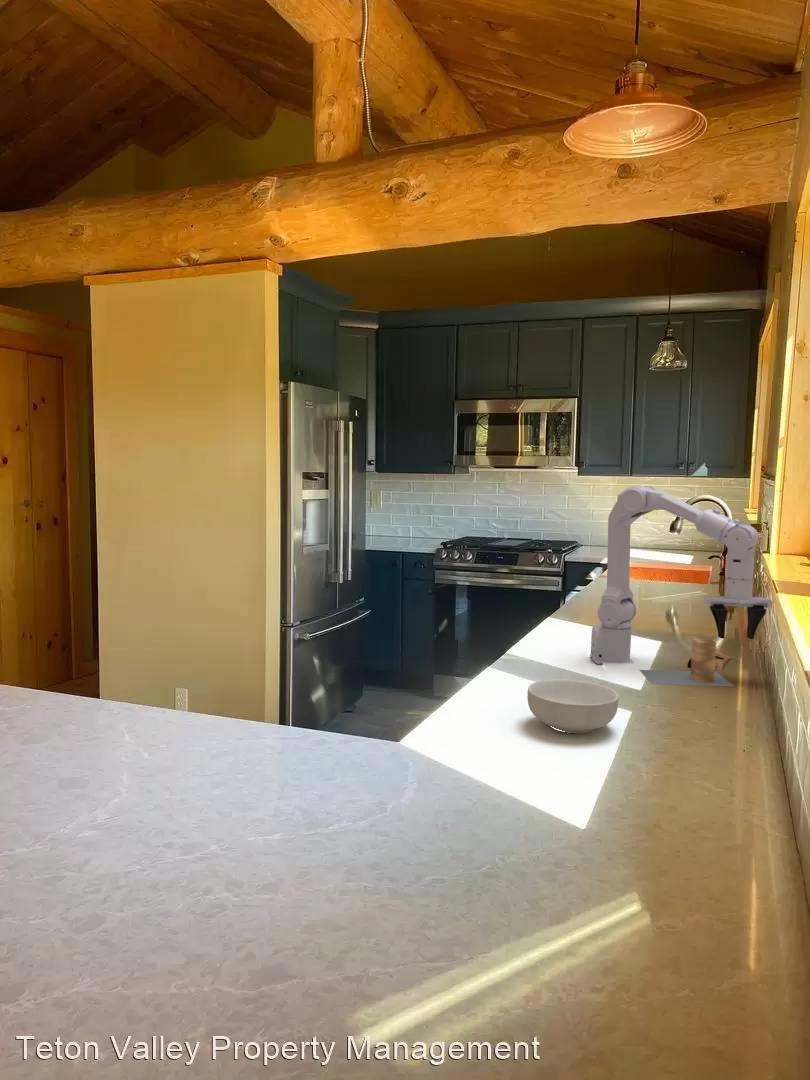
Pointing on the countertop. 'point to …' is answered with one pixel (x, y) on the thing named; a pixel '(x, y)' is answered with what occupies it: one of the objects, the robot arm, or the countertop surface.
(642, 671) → the slate mat
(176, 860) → the countertop surface
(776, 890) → the countertop surface
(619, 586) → the robot arm
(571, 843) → the countertop surface
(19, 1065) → the countertop surface
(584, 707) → the cereal bowl
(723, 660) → the sunglasses case
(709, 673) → the oak block
